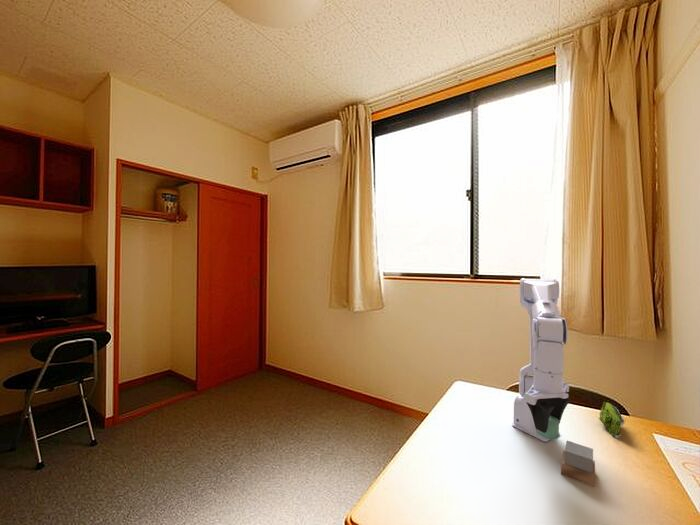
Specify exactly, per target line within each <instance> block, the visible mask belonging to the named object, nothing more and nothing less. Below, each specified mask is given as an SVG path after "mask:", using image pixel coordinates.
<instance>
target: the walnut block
mask: <svg viewBox="0 0 700 525" xmlns="http://www.w3.org/2000/svg"><path fill="white" fill-rule="evenodd" d="M560 475H561V476H563V477H566V478H569V479H571V480H574V481H576V482H580V483H582V484H584V485H587V486H590V487H591V488H595V486H596V485H595V483H596V461H595V460H594V459H593V472H592V473H590V472H587V471H584V470H581V469H578V468H576V467H573V466H570V465H567V464H565V450H562V457H561V463H560Z"/></svg>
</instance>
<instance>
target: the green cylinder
mask: <svg viewBox="0 0 700 525" xmlns="http://www.w3.org/2000/svg"><path fill="white" fill-rule="evenodd" d="M559 432H560V424H559V420H558V419H557V418H556V417H554V416H552V415H550V417H549V421H548V428H547V431H546V432H545V433H543V432H541V431H539V430H537V429H536V433H537V434H538V435H540V436H542V437H544V438H547V439H550V440H558V439H559V437H560V434H559Z"/></svg>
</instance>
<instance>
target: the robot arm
mask: <svg viewBox="0 0 700 525" xmlns="http://www.w3.org/2000/svg"><path fill="white" fill-rule="evenodd" d="M559 298H560V282H559V281H558V280H557V278H554V279H548V278H547V279H545V278H544V279H543V278H524V277H522V278H520V280H519V303H520V306H521V307H522V308H525V309H526V310H527V315H528V318H529V320H528V321H529V364H527V365H525V366H523V367H521V368H520V370H519V377H518V391H519V392H518V394H517V395H516V397H515V398H514V402H513V423H511V425H512V427H514V428H516V429H518V430H520V431H522V432H525V433H527V435H530V436H532V437H534V438H535V439H538V440H540V441H542V442H544V443H545V442H549V441H550V440H551V439H547V438H544V437H542V436H540V435H538V434H537V433H536V429H537V430H539V431H541V432H543V433H545V432H546V431H547V428H548V421H549V417H550V415H552V416H554V417H556V418H557V419H558V420H559V425H560V423H561V421H562V418H563V417H562V416H563V414H564V412H565V409H566V407H568V406H567V405H569V403H570V402H571V397H570V396H569V392H570V384H569V383H568V382H565V381H564V353H565V352H564V351H565V350H564V349H565V346H564V345H567V342H568V338H569V337H568V335H569V334H568V333H569V332H568V330H569V329H568V324H567V321H566V318H564V317H561V314H560V311H559V308H558V306H557V304H558V299H559ZM560 434H561V432H560V431H559V435H560Z"/></svg>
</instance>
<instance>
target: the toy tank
mask: <svg viewBox="0 0 700 525" xmlns="http://www.w3.org/2000/svg"><path fill="white" fill-rule="evenodd" d="M621 414H622V413H620V412H619V409H618V408H617V407H616V406H615V405H613V404H612V403H609V402H606V401H603V404H602V406H601V408H600V412H599V418H598V419H599V420H600V421H599V422H601V423H602V425H603V426H604V427H605V428H606V429H607V431H608V432H609V434H610V435H611V437H612V438H614V439H618V438H620V437H621V435H622V434H621V432H620V429H621V427H622V426H623V425H625V423H626V421H625V419H624V417H623V416H622V415H621Z"/></svg>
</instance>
